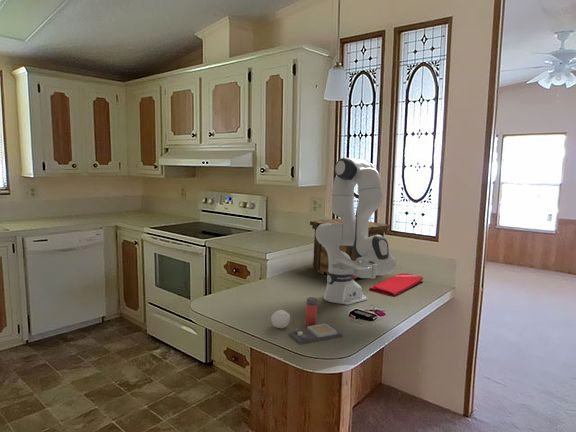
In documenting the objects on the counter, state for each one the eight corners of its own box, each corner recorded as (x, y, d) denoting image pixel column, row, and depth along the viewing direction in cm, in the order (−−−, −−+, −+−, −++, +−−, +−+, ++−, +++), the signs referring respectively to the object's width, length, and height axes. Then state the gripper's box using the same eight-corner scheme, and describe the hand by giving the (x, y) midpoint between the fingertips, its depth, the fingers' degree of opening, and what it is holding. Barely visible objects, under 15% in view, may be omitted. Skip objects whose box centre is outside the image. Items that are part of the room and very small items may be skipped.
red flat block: (368, 291, 229) (368, 284, 229) (399, 277, 261) (399, 271, 260) (394, 297, 219) (395, 290, 219) (423, 282, 251) (424, 276, 251)
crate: (350, 285, 237) (354, 229, 232) (307, 272, 262) (310, 221, 258) (386, 276, 260) (389, 224, 256) (343, 264, 286) (346, 217, 281)
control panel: (329, 328, 174) (329, 322, 173) (341, 336, 166) (341, 330, 165) (289, 334, 165) (289, 329, 165) (299, 344, 157) (300, 338, 157)
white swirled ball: (288, 324, 176) (289, 306, 175) (291, 331, 169) (292, 313, 168) (270, 324, 175) (270, 306, 174) (271, 331, 168) (272, 313, 167)
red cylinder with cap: (312, 323, 178) (313, 296, 176) (317, 327, 174) (319, 300, 172) (303, 325, 176) (304, 297, 174) (308, 329, 172) (310, 301, 170)
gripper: (350, 254, 192) (325, 256, 186) (378, 265, 174) (351, 267, 168) (349, 268, 193) (324, 270, 187) (377, 279, 175) (351, 282, 169)
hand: (337, 269), depth 177 cm, fingers open, 8 cm apart
